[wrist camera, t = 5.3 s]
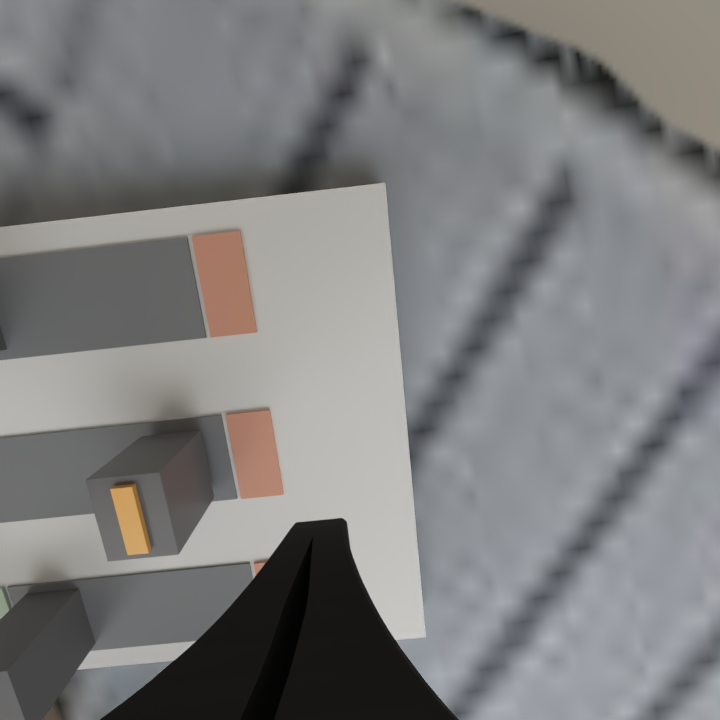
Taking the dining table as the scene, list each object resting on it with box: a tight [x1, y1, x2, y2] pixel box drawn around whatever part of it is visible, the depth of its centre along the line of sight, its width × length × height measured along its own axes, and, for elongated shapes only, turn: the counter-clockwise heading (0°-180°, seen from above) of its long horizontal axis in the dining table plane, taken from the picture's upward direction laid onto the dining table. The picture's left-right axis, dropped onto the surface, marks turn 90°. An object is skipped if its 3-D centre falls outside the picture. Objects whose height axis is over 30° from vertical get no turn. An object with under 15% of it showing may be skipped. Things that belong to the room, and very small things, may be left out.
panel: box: [0, 183, 426, 720], centre depth 16 cm, size 20×26×6 cm
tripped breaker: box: [85, 430, 214, 562], centre depth 15 cm, size 3×2×4 cm
